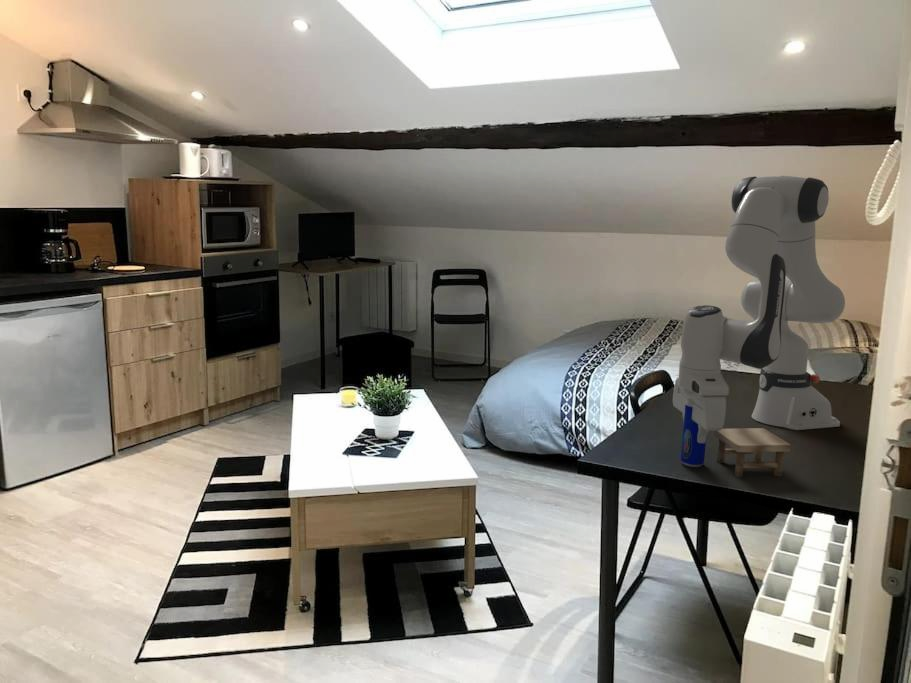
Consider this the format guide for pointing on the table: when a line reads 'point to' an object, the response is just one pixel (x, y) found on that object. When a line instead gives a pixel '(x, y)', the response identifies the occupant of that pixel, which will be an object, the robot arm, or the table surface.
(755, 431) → the stool
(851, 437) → the table surface
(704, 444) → the beverage can
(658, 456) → the table surface
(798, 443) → the table surface
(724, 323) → the robot arm
